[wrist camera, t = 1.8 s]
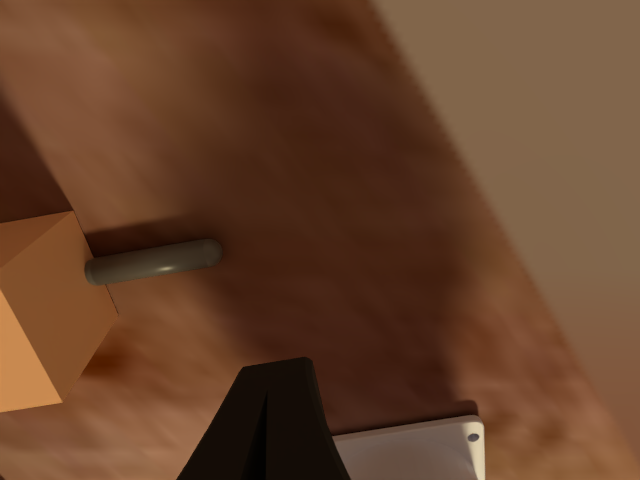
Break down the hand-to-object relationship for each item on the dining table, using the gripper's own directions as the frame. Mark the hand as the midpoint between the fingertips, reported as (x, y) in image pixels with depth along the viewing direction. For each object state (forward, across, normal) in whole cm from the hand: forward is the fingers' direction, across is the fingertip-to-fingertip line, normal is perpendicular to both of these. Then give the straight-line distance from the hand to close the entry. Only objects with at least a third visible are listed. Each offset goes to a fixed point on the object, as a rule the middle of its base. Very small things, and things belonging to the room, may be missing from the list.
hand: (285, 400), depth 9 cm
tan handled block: (+8, +7, 0) cm, 11 cm away
